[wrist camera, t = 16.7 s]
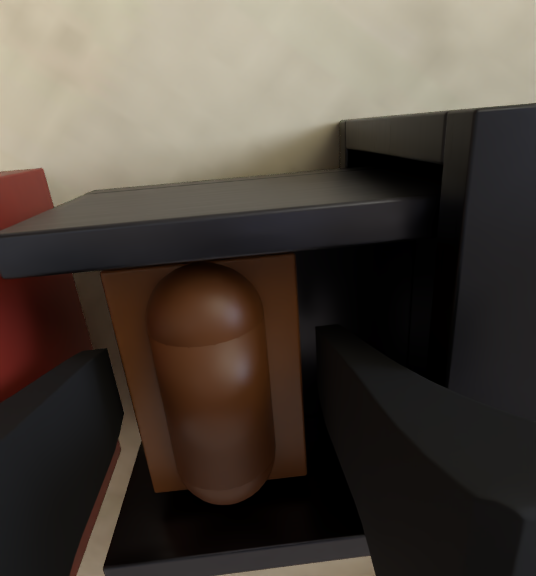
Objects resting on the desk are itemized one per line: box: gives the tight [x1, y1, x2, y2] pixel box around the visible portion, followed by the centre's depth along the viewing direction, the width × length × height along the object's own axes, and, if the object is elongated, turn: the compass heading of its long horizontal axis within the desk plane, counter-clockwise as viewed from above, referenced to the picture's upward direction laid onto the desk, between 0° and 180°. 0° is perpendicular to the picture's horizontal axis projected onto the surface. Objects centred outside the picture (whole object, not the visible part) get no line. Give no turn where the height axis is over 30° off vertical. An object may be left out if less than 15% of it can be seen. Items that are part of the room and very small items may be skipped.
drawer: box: [0, 161, 443, 576], centre depth 11 cm, size 17×10×6 cm, turn 94°
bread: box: [100, 252, 307, 505], centre depth 10 cm, size 6×4×4 cm, turn 4°
